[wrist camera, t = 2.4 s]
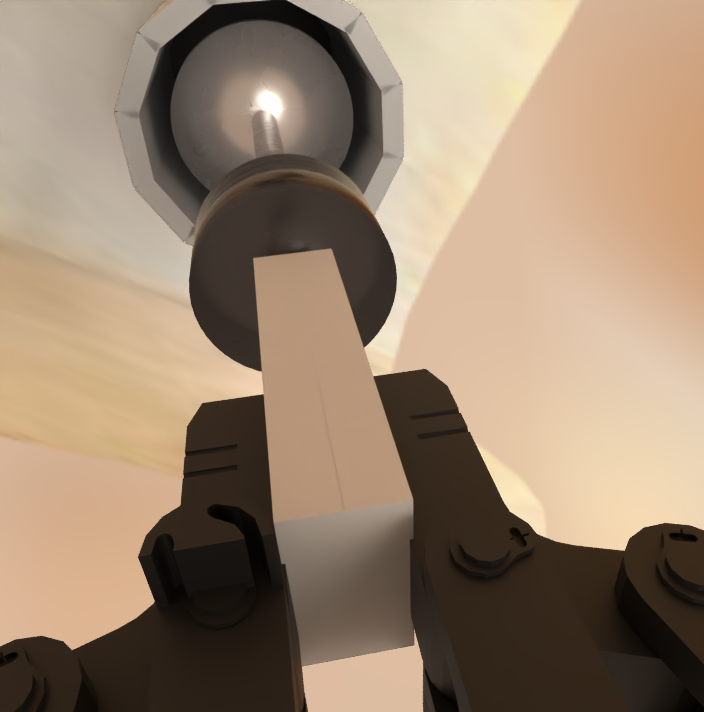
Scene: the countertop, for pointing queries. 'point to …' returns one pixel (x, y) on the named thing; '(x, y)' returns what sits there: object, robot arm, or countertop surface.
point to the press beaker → (197, 20)
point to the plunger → (272, 177)
